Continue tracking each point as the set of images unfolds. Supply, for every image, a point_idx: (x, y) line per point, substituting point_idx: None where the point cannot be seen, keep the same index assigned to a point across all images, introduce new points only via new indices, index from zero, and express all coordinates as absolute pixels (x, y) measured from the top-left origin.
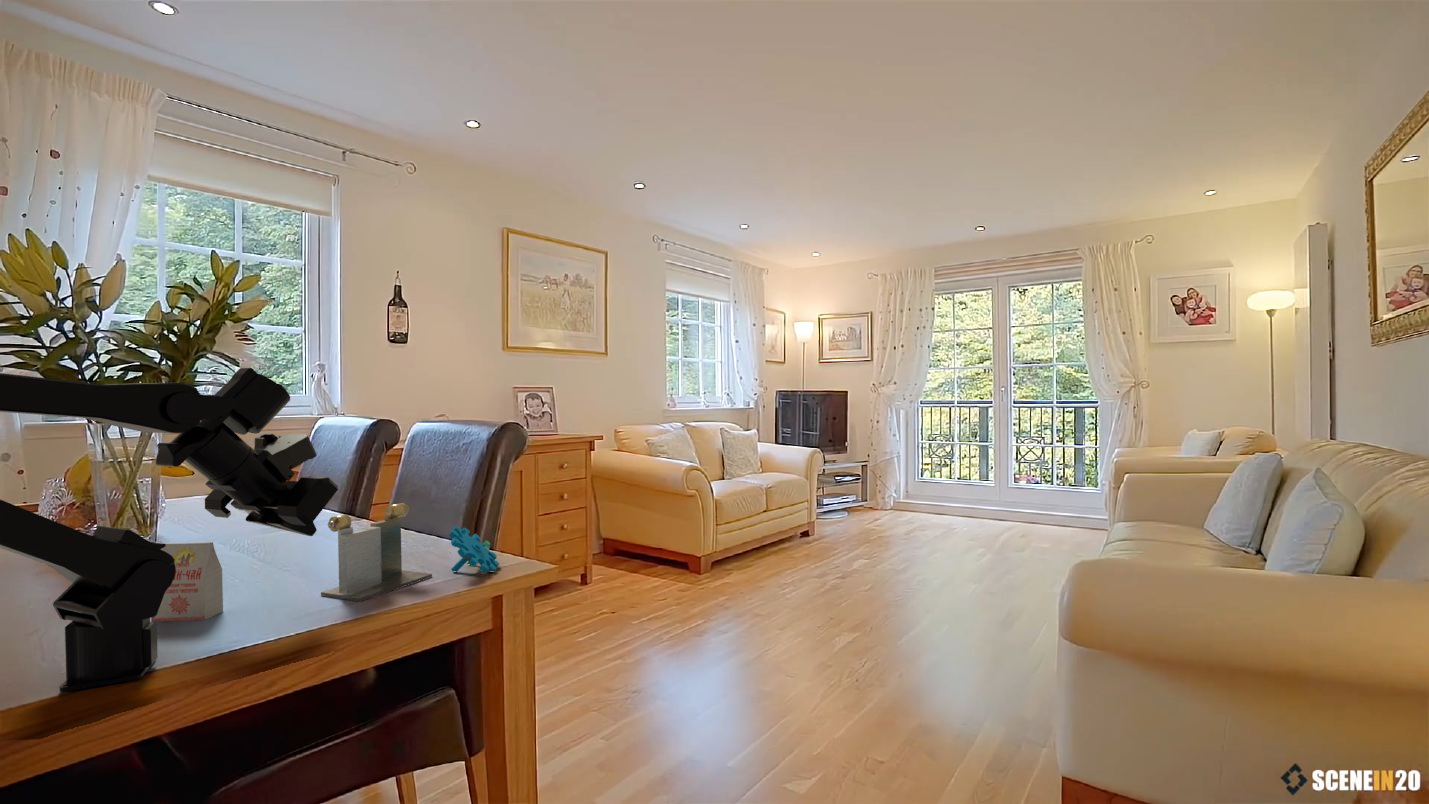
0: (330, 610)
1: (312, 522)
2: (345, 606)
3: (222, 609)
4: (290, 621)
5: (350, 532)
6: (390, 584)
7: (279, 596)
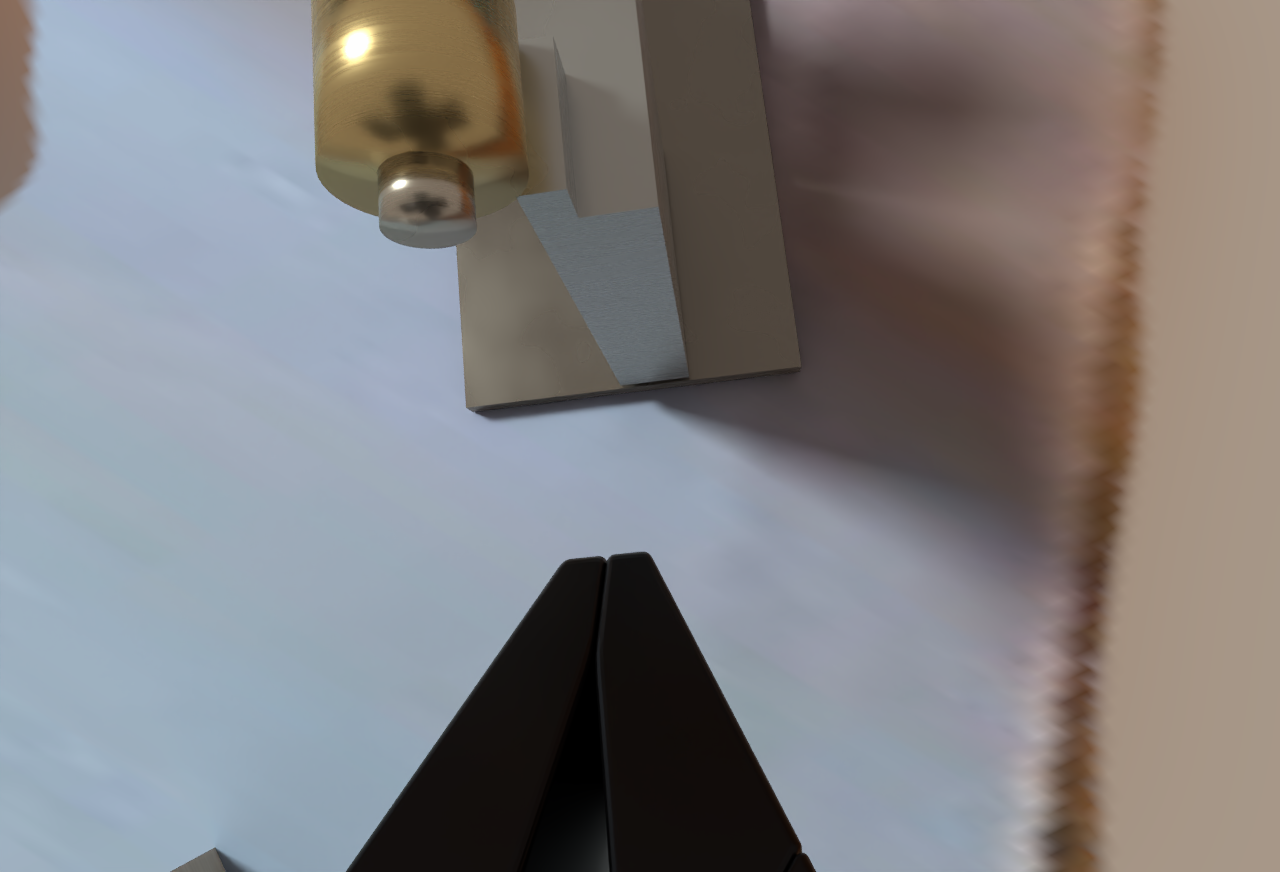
0: (793, 551)
1: (708, 670)
2: (801, 463)
3: (209, 854)
4: (778, 787)
5: (569, 102)
6: (705, 116)
7: (256, 530)
